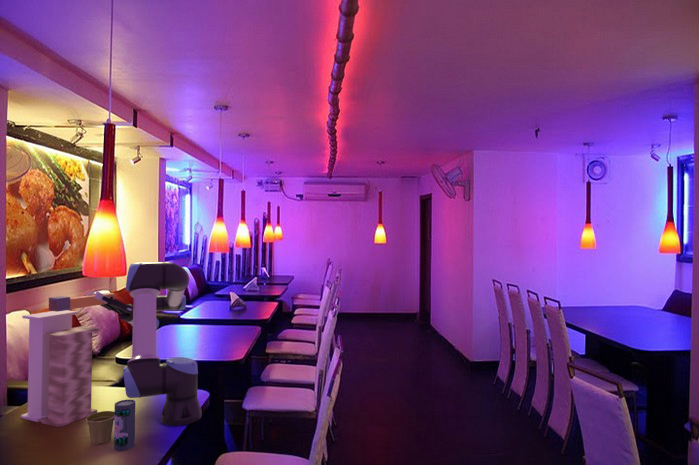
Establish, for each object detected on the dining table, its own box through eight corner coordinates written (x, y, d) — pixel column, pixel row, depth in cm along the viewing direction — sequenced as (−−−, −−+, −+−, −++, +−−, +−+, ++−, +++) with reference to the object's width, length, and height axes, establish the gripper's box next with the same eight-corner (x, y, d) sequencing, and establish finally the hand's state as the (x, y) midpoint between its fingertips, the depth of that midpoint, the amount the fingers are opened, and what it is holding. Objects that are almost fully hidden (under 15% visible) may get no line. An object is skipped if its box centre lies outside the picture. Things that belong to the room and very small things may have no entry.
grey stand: (60, 404, 191) (61, 309, 192) (76, 407, 188) (78, 311, 188) (20, 417, 177) (22, 315, 177) (37, 422, 173) (39, 317, 173)
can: (110, 447, 153) (111, 403, 153) (128, 441, 158) (128, 398, 158) (120, 452, 149) (121, 407, 149) (137, 445, 154) (138, 402, 154)
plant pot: (103, 448, 152) (103, 422, 152) (78, 445, 154) (79, 420, 154) (122, 436, 161) (122, 412, 162) (99, 433, 163) (99, 409, 163)
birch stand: (80, 408, 187) (81, 326, 187) (97, 412, 183) (98, 328, 183) (41, 422, 172) (42, 333, 172) (58, 427, 168) (60, 336, 169)
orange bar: (107, 301, 199) (107, 290, 199) (115, 302, 197) (116, 291, 197) (48, 310, 175) (48, 297, 175) (57, 311, 173) (57, 298, 173)
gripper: (141, 323, 203) (102, 303, 184) (114, 320, 209) (73, 301, 191) (148, 308, 206) (110, 287, 188) (121, 305, 213) (81, 284, 194)
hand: (91, 294), depth 189 cm, fingers closed on orange bar, 4 cm apart
